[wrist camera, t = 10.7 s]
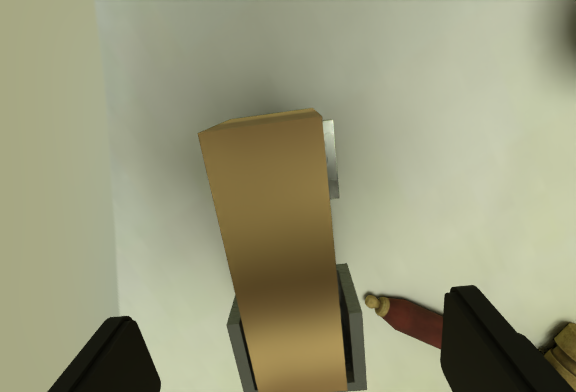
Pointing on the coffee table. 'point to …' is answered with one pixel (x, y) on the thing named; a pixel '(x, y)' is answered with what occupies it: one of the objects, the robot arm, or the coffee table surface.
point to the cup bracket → (350, 333)
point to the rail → (280, 246)
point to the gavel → (428, 327)
